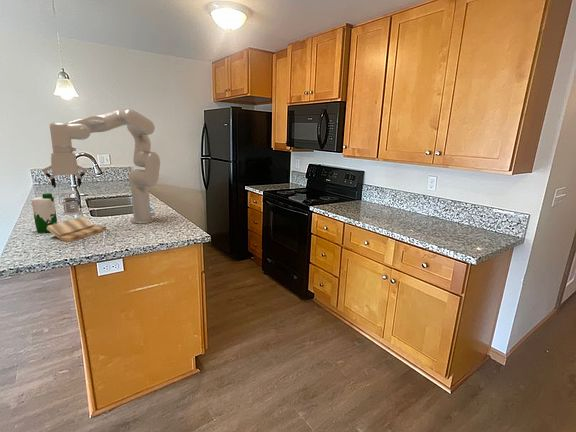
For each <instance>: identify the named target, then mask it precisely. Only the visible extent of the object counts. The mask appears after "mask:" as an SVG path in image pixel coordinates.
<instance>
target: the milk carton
mask: <svg viewBox="0 0 576 432" xmlns="http://www.w3.org/2000/svg"><path fill="white" fill-rule="evenodd" d="M31 205H32V207H31V208H32V212H33V218H34V224H35V229H36V233H37V234H47V233H49V234H52V233H51V232H50V231H48V230H47V226H49V225H53V224H57V223H58V219H57V210H56V204H55V196H53V194H52V193H48V192H47V193H42V195H41V196H38V197H34V198H32V199H31Z"/></svg>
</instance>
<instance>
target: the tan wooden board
mask: <svg viewBox="0 0 576 432" xmlns="http://www.w3.org/2000/svg"><path fill="white" fill-rule="evenodd" d="M93 226H96V225H95V224H93V223H92V222H90V221H89V220H88V219H87V218H85V217H84V216H81V217H77V218H73V219H68V220H66V221H61V222H57V224H53V225H49V226H47V230H48V231H50V232H51V233H50V234H52V235H54V236H55V237H57V238H58V239H59V240H60V236H64V235H67V234H70V233H74V232H77V231H80V230H84V229H87V228H90V227H93Z"/></svg>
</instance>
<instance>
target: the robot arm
mask: <svg viewBox="0 0 576 432" xmlns="http://www.w3.org/2000/svg"><path fill="white" fill-rule="evenodd" d="M124 126H126V128H127V131H129V133H130V135H132V137H133V139H134V149H133V150H134V151H133V164H134V165H135V167H138V168H139V169H138V168H137V169H132V170H130V172H128V173H129V174H128V182H129V185H130V190H131V200H132V201H131V202H132V213H133V218H132V219H130V222H131V223H132V224H136V223H139V224H141V223H143V224H149V223H152V222H154V221H153V220H154V218H153V216H155V215H156V212H151V202H150V192H149V188H152V187H155V186H156V185H157V183H158V181H159V175H160V169H161V168H160V166H161V158H160V156H159V155H158V154H157V152H154V151H151V148H152V147H151V146H152V145H151V144H152V142H151V139H150V138H149V135H152V134H153V133H154V132H155V124H154V123H153V121H152V120H151V119H150V118H148V117H146V116H145V115H143V114H141V113H140V112H138V111H136V110H134V109H131V108H117V109H114V110H110V111H107V112H106V111H105V112H104V113H100V114H96V115H91V116H88V117H84V118H79V119H75V120H72V121H68V122H51V123H50V124H49V132H50V139H51V146H52V153H51V154H50V155H51V156H50V166H47V167H45V168H43V169H42V173H44V175H45V176H46V177H48V178H49V179H50V182H51V183H50V184H51V186H53V188H54V189H55V188H56V187H57V182H56V178H55V177H56V176H66V175H69V176H72V175H74V176H76V177H77V186H78V188H80V187H81V185H83V184H82V178H83V176H85V175H86V173H87V170H88V169H87V168H85V167H83V166H80V165H79V164H78V161H77V156H76V153H74V152H76V151H77V148H76V147H73V143H72V140H78V141H79V140H81V141H83V140H86V139H88V138H90V136H91V134H93V133H104V132H108V131H111V130H113V129H117V128H120V127H124ZM141 168H144V169H141ZM50 170H51V172H52V173H51V174H50V173H49V172H48V171H50ZM79 170H81V171H82V172H81V173H79ZM148 187H149V188H148Z"/></svg>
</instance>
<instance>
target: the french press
mask: <svg viewBox="0 0 576 432" xmlns="http://www.w3.org/2000/svg"><path fill="white" fill-rule="evenodd" d="M64 176H65V178H67V179H66V180H67V181H69V180H68V178H69V177H70V175H64ZM67 186H68V188H69V187H70V186H69V183H67ZM77 193H78V192H77V191H75V190H73V189H66V190H64V191H62V192H61V195H60V196H58V197H59V198H58V201H59V203H60V205H61V206H63V210H64V211H63V213H62V215H65V216H74V215H78V214H81V211H80V210H79V203H78V199H77V197H65V196H66V195H69V196H71V195H75V194H77ZM62 197H63V201H62V199H61V198H62Z"/></svg>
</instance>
